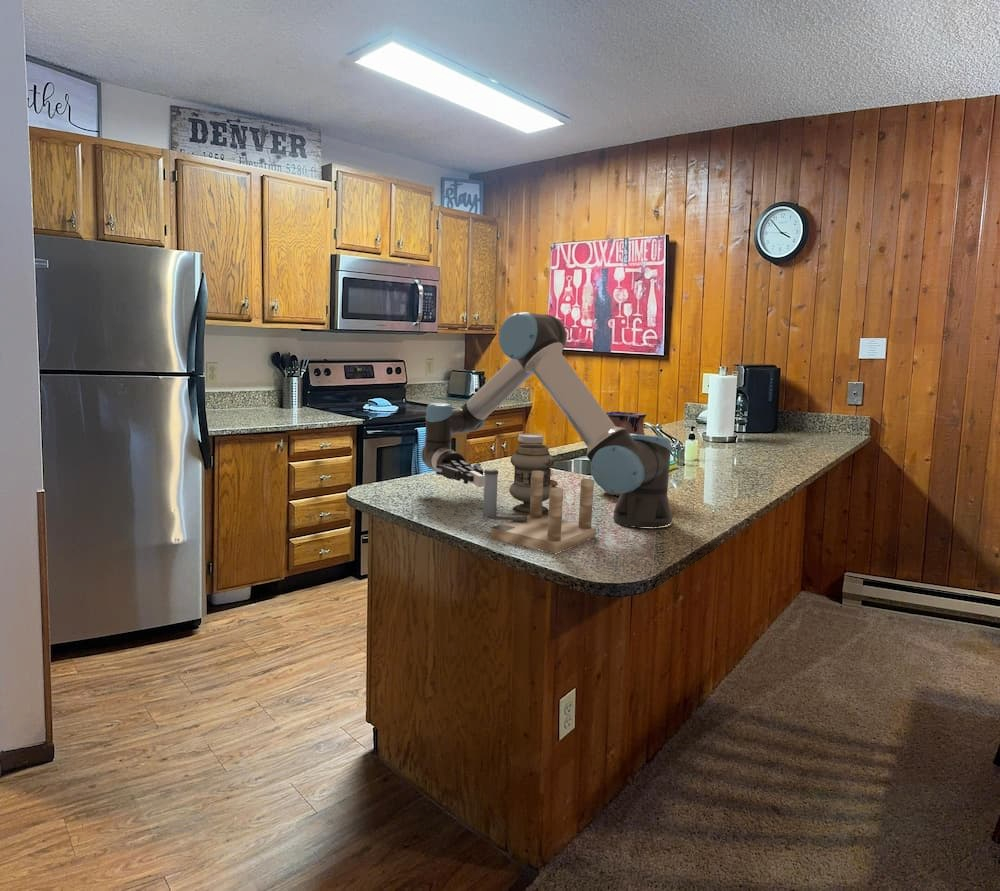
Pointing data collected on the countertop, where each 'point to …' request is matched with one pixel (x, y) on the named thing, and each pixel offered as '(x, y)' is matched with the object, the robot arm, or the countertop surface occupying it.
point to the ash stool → (550, 520)
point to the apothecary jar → (525, 463)
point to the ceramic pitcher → (627, 425)
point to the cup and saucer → (552, 480)
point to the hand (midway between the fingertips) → (481, 481)
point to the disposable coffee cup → (530, 439)
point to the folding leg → (494, 498)
